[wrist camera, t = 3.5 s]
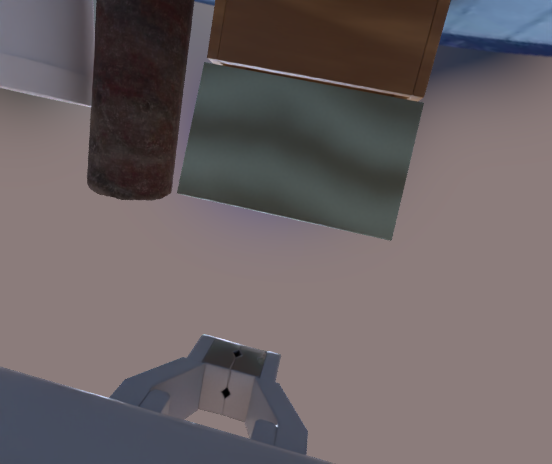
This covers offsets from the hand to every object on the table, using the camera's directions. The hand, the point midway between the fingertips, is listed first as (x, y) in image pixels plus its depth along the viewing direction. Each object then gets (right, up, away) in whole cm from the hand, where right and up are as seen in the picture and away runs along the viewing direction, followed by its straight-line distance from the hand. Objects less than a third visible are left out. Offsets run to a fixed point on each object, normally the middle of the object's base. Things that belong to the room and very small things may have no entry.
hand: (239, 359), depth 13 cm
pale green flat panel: (+3, +11, +12) cm, 17 cm away
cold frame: (+6, +24, +14) cm, 29 cm away
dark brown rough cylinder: (-8, +28, +15) cm, 33 cm away
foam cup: (-17, +30, +16) cm, 38 cm away
